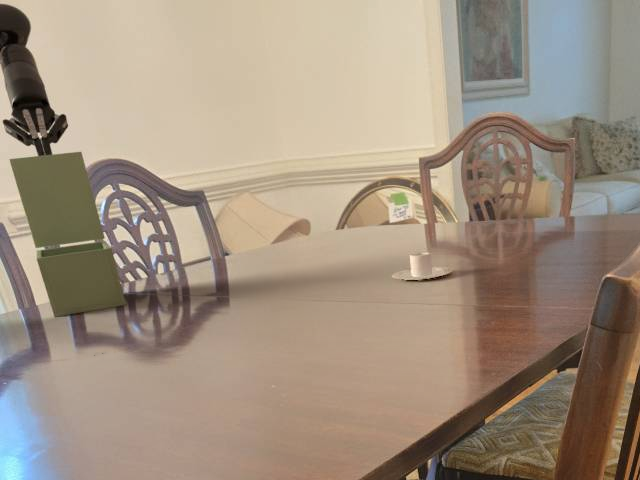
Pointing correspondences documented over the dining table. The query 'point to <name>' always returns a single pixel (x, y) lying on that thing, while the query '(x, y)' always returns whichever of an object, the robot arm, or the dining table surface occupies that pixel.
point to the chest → (80, 278)
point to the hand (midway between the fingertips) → (45, 156)
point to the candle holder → (421, 267)
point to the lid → (57, 199)
